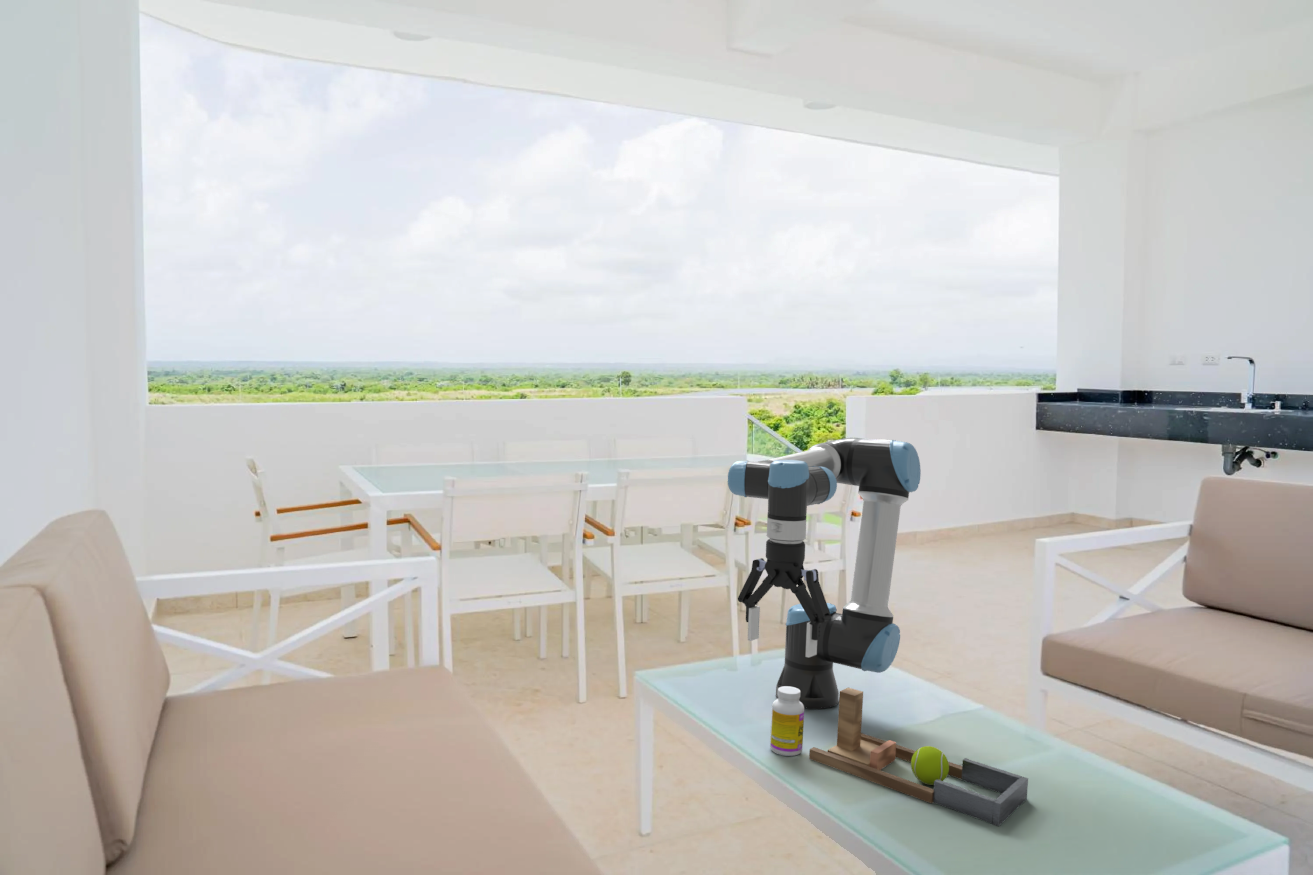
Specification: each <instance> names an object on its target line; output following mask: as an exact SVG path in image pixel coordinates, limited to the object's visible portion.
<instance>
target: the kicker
mask: <svg viewBox="0 0 1313 875" xmlns="http://www.w3.org/2000/svg"><path fill="white" fill-rule="evenodd" d="M863 700H864V691H861V690H858V689H854V688H852V687H846V688H843V689H841V690H839V700H838V717H837V718H838V720H837V732H836V733H837V735H836V738H837V739H836V745H834V746H832V747H830V748H828V749H827V752H830V753H832V754H835V755H838V756H841V757H844V758H847V759H849V760H852V761H855V762H858V763H861V764H864V765H866V766H869V767H872V768H875V769H878V770H880V771H882V770H883V769H884V768H887V766H889V765H890V764H892V763H893V762H895V761H896V757H895V754H896V745H897V742H896V741H894V740H890V739H889V740H886V741H887V742H885V743H884V744H882V745H880V746H879V745H876V744H873V743H870V742H867V741H864V740H861V733H862V722H863V721H862V720H863V719H862V718H863V704H864V701H863Z"/></svg>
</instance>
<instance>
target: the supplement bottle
mask: <svg viewBox="0 0 1313 875" xmlns="http://www.w3.org/2000/svg"><path fill="white" fill-rule="evenodd" d="M777 694H778V698H776V699H775V700H774V701H773V702H772V705H771V723H770V724H771V726H770V741H769V742H770V743H769V744H770V745H769V747H770V750H771V752H773V753H775V754H777V755H780V756H786V757H794V756H797V755H800V754H801V753H802V751H803V745H804V744H803V742H804V741H803V740H804V722H805V721H804V720H805V708H804V705H803V704H802V703H801V702H800V701H799V698H800V690H799V689H798V688H795V687H790V686H782V687H779V688H778V693H777Z"/></svg>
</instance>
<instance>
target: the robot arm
mask: <svg viewBox="0 0 1313 875" xmlns="http://www.w3.org/2000/svg"><path fill="white" fill-rule="evenodd" d="M921 475H922V474H921V463H920V458H919V454H918V452H917V449H916V447H915V446H914V445H913V444H911V443H909V442H908V441H902V440H901V441H900V440H896V439H895V440H894V439H880V438H879V439H877V438H876V439H875V438H860V437H846V438H839V439H834V440H829V441H825V442H821V443H817V444H813V445H812V446H811V447H809V448H808V450H804V451H800V452H796V453H791V454H787V455H783V456H778V457H774V458H769V459H765V460H759V461H749V460H737V461H734V463H733V464H731V466H730V468H729V470H728V473H727V486H728V490H729V491H730V492H731V494H733V495H735V496H739V497H744V498H755V499H764V500H767V516H766V517H767V518H766V521H767V522H766V537H767V538H768V539H767V540H766V542H765V558H766V561H765V559H764V558H762V557H761V558H756V559H754V560H752V564H751V570H750V573H749V574H748V576H747V578H746V580H745V582H744V585H743V587H742V589H741V590H740V593H739V595H738V596H737V601H738V602H739V603H742V604H744V606H745V622H746V623H748V624H747V625H748V626H747V641H749V642H752V641H755V640H758V639H759V638H760V617H761V616H760V615H761V614H760V612H761V606H759V605H758V604H759V602H760V601H761V600H762V599H763V598H764V596H765V595H767V594H768V592H769V591H770V590H771V588H772V587H773V586H774V587H775V588H776V587H777V588H782V589H784V590H790V591H791V593H792V594H794V596H796V598H797V600H798V602H799V603H797V604H794V605H792V606H791V607H789V608H788V610H787V615H786V621H785V627H786V628H785V642H784V643H785V645H784V646H785V647H784V664H783V667H782V670H781V672H780V676H779V678H778V680H777V683H776V686H775V697H776V699H778V694H777V693H778V688H779V687H782V686H790V687H795V688H798V689H799V690H800V698H799V701H800V702H801V703H802V704H803V705H804V709H808V710H822V709H823V710H824V709H830V708H832V707H836V705H838V704H839V695H840V690H839V688H838V684H837V680H836V677H835V673H834V664H838V665H842V666H845V667H850V668H855V669H859V670H861V671H863V672H872V673H877V674H878V673H883V672H885V671H887V670H888V669H889V668H890V666H892V664H893V662H894V660H895V658H896V656H897V654H898V650H899V647H900V643H901V642H900V641H901V629H900V627H899V626H898V625H897V624H896V623H894V614H893V612H891V610H890V609H889V602H890V601H889V600H890V592H891V585H892V576H893V569H894V562H895V561H894V560H895V554H896V548H897V547H896V545H897V537H898V530H899V521H900V515H901V506H903V504H904V503H906V502H907V501H909V496H910V493H913V492H916V491H917V490H918V489H919V485H920V482H921ZM838 484H841V485H842V484H843V485H849V486H855V487H858V494H859V496H860V497H861V498H862V501H863V505H862V512H861V518H860V528H859V535H858V542H857V551H856V556H855V558H856V559H855V563H854V564H855V566H854V570H853V571H854V572H853V573H854V574H853V580H852V586H851V587H852V588H851V595H850V601H849V602H848V603H846V604H845V605H844V606H843V607H842V613H839V612H837V606H836V605H835V604H832V603H829V602H827V600H826V598H825V595H824V592H823V590H822V586H821V584H820V580H819V571H818V569H816V568H814V569H811V570H810V569H805V567H804V562H805V559H806V543H805V542H804V540H805V539H806V538H807V537H806V536H807V534H806V533H807V510H808V507H809V506H813V505H821V504H823V503H825V502H827V501H829V500H831V499H832V498H833V497H834V495H835V494H836V492H837V487H838ZM764 571H766V573H767V575H766V577H765V578H763V580H762V581H761V584H760V585H759V586H758V587H757V588H756V586H757V585H758V583H759V580H760V579H761V577H762V574H763V572H764ZM804 581H805V582H804ZM805 583H806V584H805Z"/></svg>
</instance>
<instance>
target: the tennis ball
mask: <svg viewBox="0 0 1313 875" xmlns="http://www.w3.org/2000/svg"><path fill="white" fill-rule="evenodd" d="M948 762H949V759H948V758H947V756H946V754H945V753H943V751H942V750H940V749H939V748H937V747H935V746H931V745H926V746H922V747H919V748H918V749H916V750H915V753H914V754H913V756H912V760H911V762H910V767H911V770H912V774H913V775H914V776H915V778H917V780H918V781H919V782H921V783H923V784H925V785H928V786H934V781H935V780H937V779H938V780H941V781H944V782H945V780H946V779H947V777H948V776H949V775H948V772H949V763H948Z"/></svg>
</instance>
